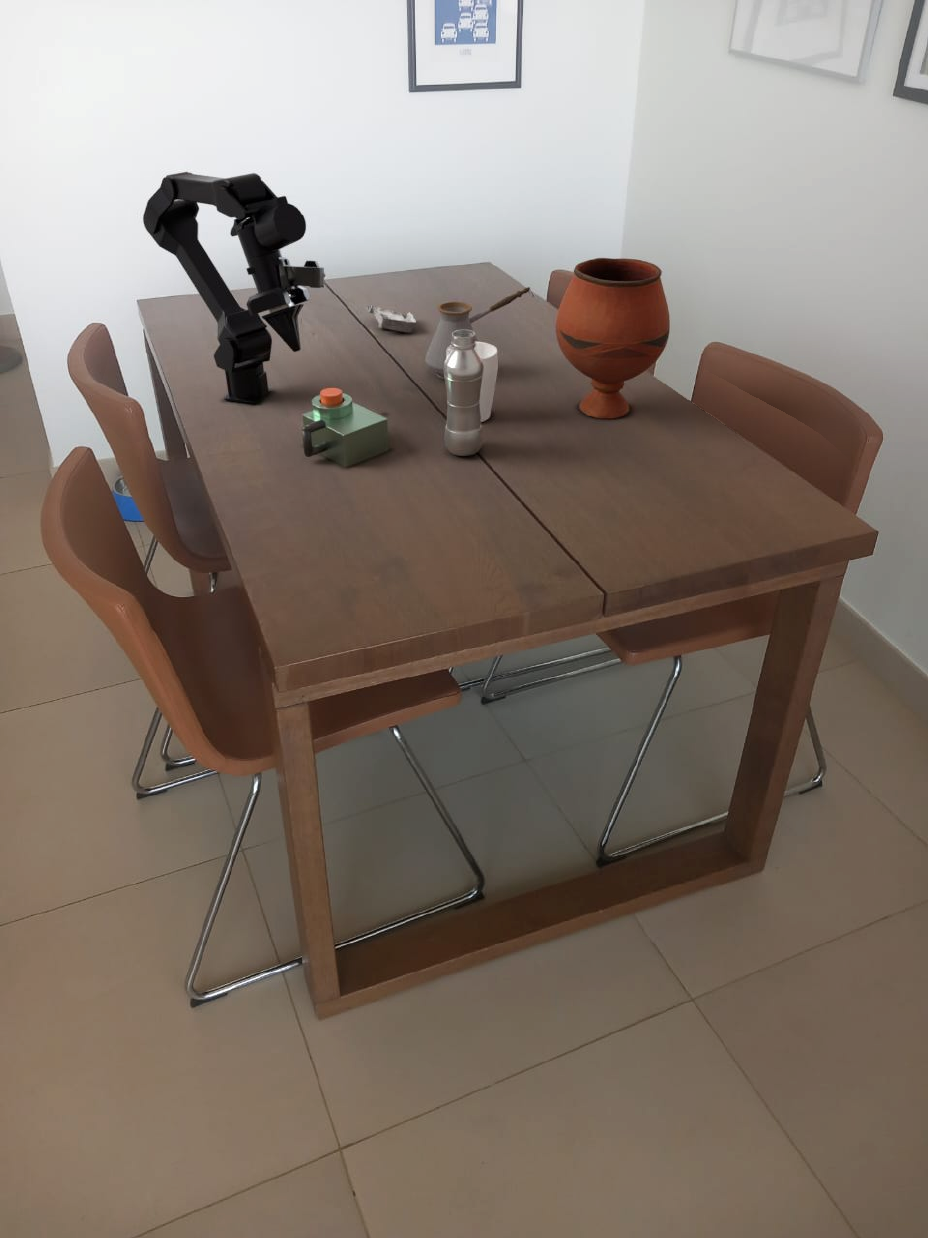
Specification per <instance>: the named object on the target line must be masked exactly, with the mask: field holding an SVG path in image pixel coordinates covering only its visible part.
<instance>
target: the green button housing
mask: <svg viewBox="0 0 928 1238" xmlns="http://www.w3.org/2000/svg"><path fill="white" fill-rule="evenodd" d="M342 395H343V403H342V404H339V405H333V406H327V405H323V404H321V397H320V394H318V395H315V396H314V397H313V398H312V399H311V411H308V412H305V413H302V423H303V426H305V425H308V424H310V423H313V422H316V421H319V420H324V421H325V423H326V425H325V427H324V428H323V429H320V430H317V431H315V432H312V433H311V438H312V446H315V445H318V444H320V443H325V444H326V446H327V450H326V451H324V452H321V453H319V454H321V455H322V456H324V457H326V458H328V459H330V460H331V461H333V462H335V463H337V464H339V465H340V466H342V467H344V468H348V467H351V466H353V465H356V464H358V463H360V462H363V461H366V460H368V459H371V458H373V457H376V456H378V455H380V454H383V453H385V452H388V451H390V447H389V429H388V428H389V426H388V424H389V423H388V418H387V417H384V416H383V415H380V414H378V413H376V412H374V411H371V410H370V409H368V408H365V407H364V406H361V405H360V404H357V403H355V402H354V401H353V399H352V395H351V396H350V395H348V394H347V393H343V392H342Z"/></svg>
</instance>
